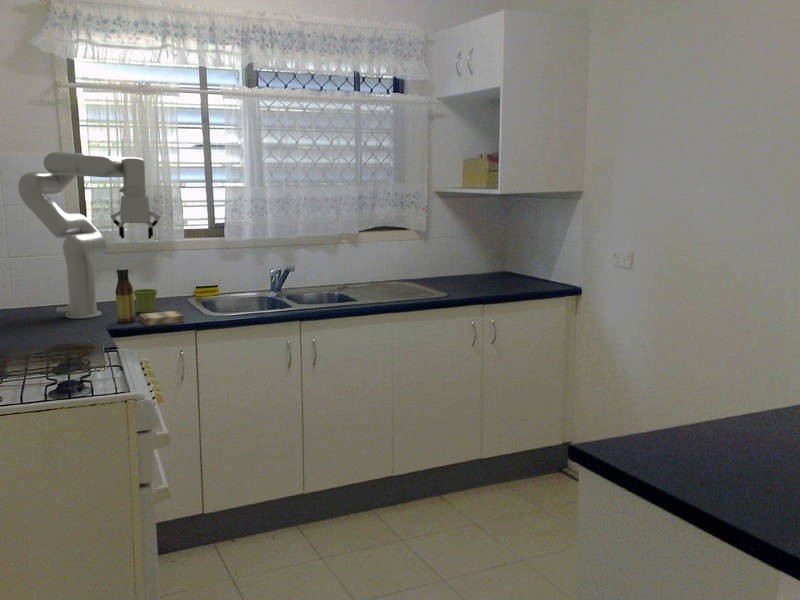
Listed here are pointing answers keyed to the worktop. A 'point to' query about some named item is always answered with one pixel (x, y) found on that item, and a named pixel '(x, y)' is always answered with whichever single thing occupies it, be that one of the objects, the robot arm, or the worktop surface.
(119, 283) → the sauce bottle
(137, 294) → the plant pot
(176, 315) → the board
